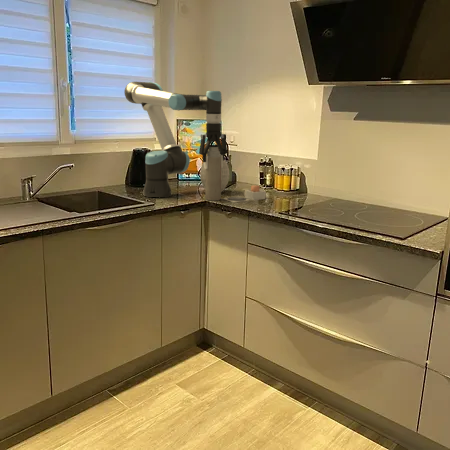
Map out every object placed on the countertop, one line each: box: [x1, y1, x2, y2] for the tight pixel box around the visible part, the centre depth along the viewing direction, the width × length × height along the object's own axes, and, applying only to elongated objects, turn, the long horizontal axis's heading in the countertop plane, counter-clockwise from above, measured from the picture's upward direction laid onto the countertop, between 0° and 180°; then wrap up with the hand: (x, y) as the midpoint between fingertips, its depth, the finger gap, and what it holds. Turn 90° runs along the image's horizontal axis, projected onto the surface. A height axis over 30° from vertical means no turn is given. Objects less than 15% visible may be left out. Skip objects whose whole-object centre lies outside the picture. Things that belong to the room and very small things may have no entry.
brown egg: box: [250, 184, 261, 192], centre depth 246 cm, size 4×4×4 cm
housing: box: [244, 189, 267, 201], centre depth 247 cm, size 8×8×4 cm
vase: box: [199, 159, 230, 193], centre depth 259 cm, size 16×16×22 cm
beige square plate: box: [223, 196, 251, 203], centre depth 243 cm, size 10×10×1 cm
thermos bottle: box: [204, 144, 222, 201], centre depth 240 cm, size 8×8×28 cm
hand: (213, 167), depth 240 cm, fingers closed on thermos bottle, 8 cm apart
